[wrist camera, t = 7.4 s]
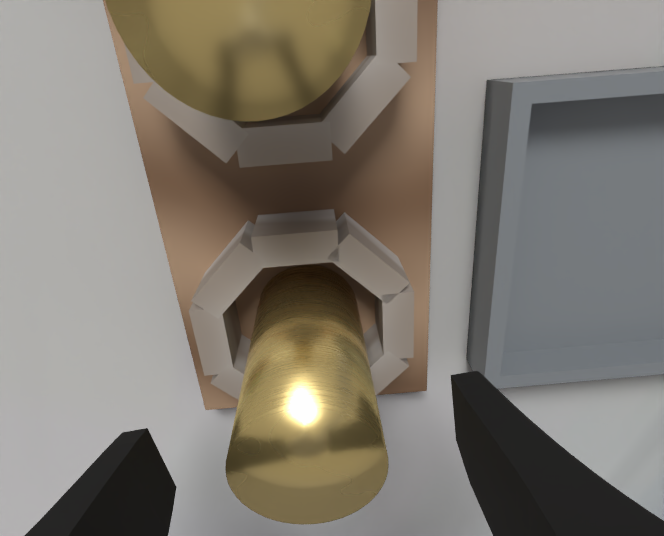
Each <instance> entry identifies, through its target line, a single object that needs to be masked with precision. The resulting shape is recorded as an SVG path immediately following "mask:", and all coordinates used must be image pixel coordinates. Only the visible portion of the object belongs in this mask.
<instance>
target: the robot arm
mask: <svg viewBox="0 0 664 536" xmlns="http://www.w3.org/2000/svg"><path fill="white" fill-rule="evenodd" d="M451 384H452V396H453V408H454V420H455V432H456V441H457V444H458V447H459V450H460V453H461V457H462V460H463V463H464V466H465V469H466V472H467V475H468V478H469V481H470V484H471V486H472V488H473V491H474V493H475V495H476V498H477V500H478V502H479V504H480V507H481V509H482V511H483V514H484V516H485V518H486V520H487V523H488V525H489V527H490V529H491V532H492V534H493V536H664V521H663V520H662V519H660V518H658V517H657V516H655V515H654V514H652V513H651V512H649V511H648V510H646V509H645V508H643V507H642V506H640V505H639V504H638V503H636V502H635V501H633V500H632V499H630V498H629V497H627V496H626V495H625V494H623V493H622V492H620V491H619V490H617V489H616V488H615V487H613V486H612V485H611V484H609V483H608V482H606V481H605V480H604V479H602V478H601V477H600V476H598V475H597V474H596V473H594V472H593V471H592V470H590V469H589V468H588V467H587V466H585V465H584V464H583V463H581V462H580V461H579V460H578V459H576V458H575V457H574V456H572V455H571V454H570V453H569V452H568V451H566V450H565V449H564V448H563V447H561V446H560V445H559V444H558V443H557V442H555V441H554V440H553V439H552V438H551V437H549V436H548V435H547V434H546V433H545V432H544V431H543V430H541V429H540V428H539V427H538V426H537V425H536V424H534V423H533V422H532V421H531V420H530V419H529V418H528V417H526V416H525V415H524V414H523V413H522V412H521V411H520V410H519V409H518V408H517V407H516V406H514V405H513V404H512V403H511V402H510V401H509V400H508V399H507V398H506V397H505V396H504V395H503V394H502V393H501V392H500V391H499V390H498V389H497V388H496V387H495V386H494V385H493V384H492V383H491V382H490V381H489V380H488V379H487V378H486V377H485V376H484V375H483V374H481V373H480V372H478V371H473V372H467V373H461V374H456V375H451ZM175 492H176V486H175V484H174V482H173V479H172V477H171V475H170V473H169V471H168V469H167V467H166V465H165V463H164V461H163V459H162V457H161V455H160V453H159V451H158V449H157V447H156V445H155V443H154V441H153V439H152V437H151V435H150V433H149V431H148V429H147V428H146V429H140V430H135V431H129V432H123V433H122V434H121V435H120V436H119V437H118V438H117V439H116V440H115V441H114V442H113V443H112V444H111V445H110V446H109V447H108V448H107V449H106V450H105V451H104V452H103V453H102V454H101V455H100V456H99V457H98V458H97V460H96V461H95V462H94V463H93V464H92V465H91V466H90V467H89V468H88V469H87V470H86V471H85V473H84V474H83V475H82V476H81V477H80V478H79V479H78V480H77V481H76V482H75V483H74V484H73V486H72V487H71V488H70V489H69V490H68V491H67V492H66V493H65V494H64V495H63V496H62V497H61V498H60V499H59V501H58V502H57V503H56V504H55V505H54V506H53V507H52V508H51V509H50V510H49V511H48V512H47V513H46V514H45V515H44V517H43V518H42V519H41V520H40V521H39V522H38V523H37V524H36V525H35V526H34V527H33V528H32V529H31V530H30V531H29V532H28V533H27V534H26V535H25V536H168V532H169V527H170V522H171V516H172V511H173V505H174V498H175Z"/></svg>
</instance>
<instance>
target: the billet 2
mask: <svg viewBox="0 0 664 536" xmlns="http://www.w3.org/2000/svg"><path fill="white" fill-rule="evenodd" d="M387 473H388V455H387V450H386V445H385V440H384V435H383V430H382V425H381V420H380V415H379V410H378V405H377V400H376V395H375V390H374V385H373V380H372V375H371V370H370V365H369V360H368V355H367V350H366V345H365V340H364V335H363V330H362V325H361V320H360V315H359V310H358V305H357V300H356V296H355V294H354V291H353V289H352V288H351V286H350V285H349V283H348V282H347V281H346V280H345V279H344V278H343V277H342V276H340V275H339V274H338V273H336V272H334V271H332V270H330V269H328V268H325V267H321V266H315V265H301V266H295V267H291V268H289V269H286V270H284V271H282V272H280V273H278V274H277V275H276V276H274V277H273V278H272V279H271V280H270V281H269V282H268V283H267V285H266V286H265V287H264V289H263V291H262V293H261V296H260V299H259V304H258V309H257V313H256V318H255V323H254V328H253V333H252V338H251V343H250V347H249V352H248V357H247V362H246V367H245V372H244V377H243V381H242V386H241V391H240V396H239V401H238V406H237V411H236V416H235V420H234V425H233V430H232V435H231V440H230V445H229V450H228V454H227V459H226V477H227V480H228V484H229V486H230V488H231V490H232V491H233V493H234V494H235V496H236V497H237V498H238V499H239V500H240V501H241V502H242V503H243V504H244V505H245V506H247V507H248V508H249V509H251V510H252V511H254V512H256V513H258V514H260V515H262V516H264V517H267V518H269V519H272V520H276V521H280V522H284V523H291V524H317V523H324V522H329V521H333V520H337V519H340V518H343V517H345V516H348V515H350V514H352V513H354V512H356V511H358V510H359V509H361V508H362V507H364V506H365V505H366V504H368V503H369V502H370V501H371V500H372V499H373V498H374V497H375V496H376V495H377V494H378V492H379V491H380V489H381V488H382V486H383V484H384V482H385V480H386V477H387Z"/></svg>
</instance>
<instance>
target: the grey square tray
mask: <svg viewBox="0 0 664 536" xmlns="http://www.w3.org/2000/svg"><path fill="white" fill-rule="evenodd" d="M467 360H468V362H469V364H470V366H471V368H472V370H473V371H478V372H480V373H481V374H483V375H484V376H485V377H486V378H487V379H488V380H489V381H490V382H491V383H492V384H493V385H494V386H495V387H496V388H497V389H500V388H512V387H523V386H535V385H546V384H557V383H569V382H580V381H592V380H603V379H614V378H626V377H637V376H649V375H660V374H664V66H660V67H647V68H634V69H621V70H608V71H596V72H583V73H570V74H557V75H544V76H532V77H519V78H506V79H493V80H487V90H486V104H485V117H484V131H483V144H482V157H481V171H480V184H479V198H478V211H477V225H476V238H475V252H474V265H473V278H472V292H471V305H470V319H469V332H468V346H467Z"/></svg>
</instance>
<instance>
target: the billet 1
mask: <svg viewBox="0 0 664 536" xmlns="http://www.w3.org/2000/svg"><path fill="white" fill-rule="evenodd" d="M105 1H106V4H107V7H108V11H109V13H110V15H111V18H112V20H113V22H114V25H115V27H116V29H117V31H118V33H119V35H120V36H121V38H122V40H123V42H124V44H125V45H126V47H127V49H128V50H129V51H130V53H131V54H132V56H133V57H134V58H135V60H136V61H137V63H138V64H139V65H140V66H141V67H142V69H143V70H144V71H145V72H146V73H147V74H148V75H149V76H150V78H152V79H153V80H154V81H155V82H156V83H157V84H158V85H159V86H160V87H161V88H163V89H164V90H165V91H166V92H168V93H169V94H170V95H172V96H173V97H175V98H176V99H177V100H179V101H181V102H182V103H184V104H186V105H188V106H190V107H191V108H193V109H195V110H198V111H200V112H203V113H205V114H208V115H211V116H215V117H218V118H222V119H226V120H234V121H263V120H269V119H275V118H278V117H281V116H285V115H288V114H290V113H292V112H295V111H297V110H299V109H301V108H303V107H305V106H306V105H308V104H310V103H311V102H313V101H314V100H316V99H317V98H318V97H319V96H321V95H322V94H323V93H324V92H325V91H327V90H328V89H329V88H330V87H331V86H332V85H333V83H334V82H335V81H336V80H337V79H338V78H339V77H340V76H341V74H342V73H343V71H344V70H345V68H346V67H347V66H348V64H349V63H350V61H351V59H352V57H353V55H354V54H355V52H356V50H357V48H358V46H359V43H360V41H361V38H362V36H363V33H364V30H365V27H366V23H367V20H368V16H369V12H370V6H371V0H105Z"/></svg>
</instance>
